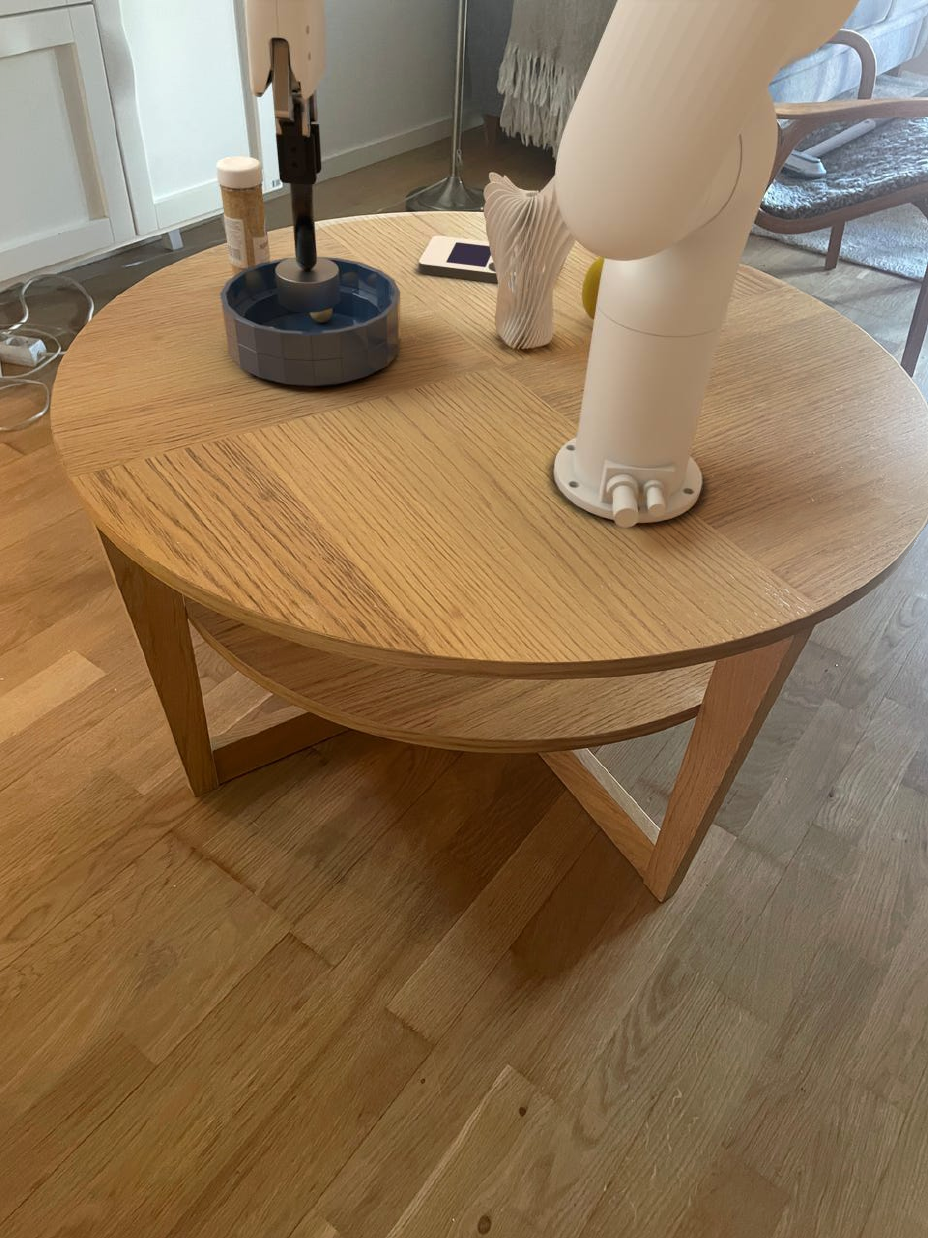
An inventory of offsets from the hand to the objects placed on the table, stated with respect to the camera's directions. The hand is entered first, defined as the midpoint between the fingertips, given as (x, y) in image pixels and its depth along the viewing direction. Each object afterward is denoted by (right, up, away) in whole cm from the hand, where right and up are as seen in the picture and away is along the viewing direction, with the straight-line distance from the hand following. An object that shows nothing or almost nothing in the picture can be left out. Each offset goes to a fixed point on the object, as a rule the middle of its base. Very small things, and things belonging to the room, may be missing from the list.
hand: (301, 175), depth 82 cm
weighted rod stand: (-1, -8, +8) cm, 12 cm away
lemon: (+30, -8, +18) cm, 36 cm away
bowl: (-1, -12, +12) cm, 17 cm away
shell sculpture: (+21, -11, +15) cm, 27 cm away
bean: (0, -8, +14) cm, 16 cm away
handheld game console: (+17, +3, +28) cm, 33 cm away
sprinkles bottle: (-9, -3, +21) cm, 23 cm away
